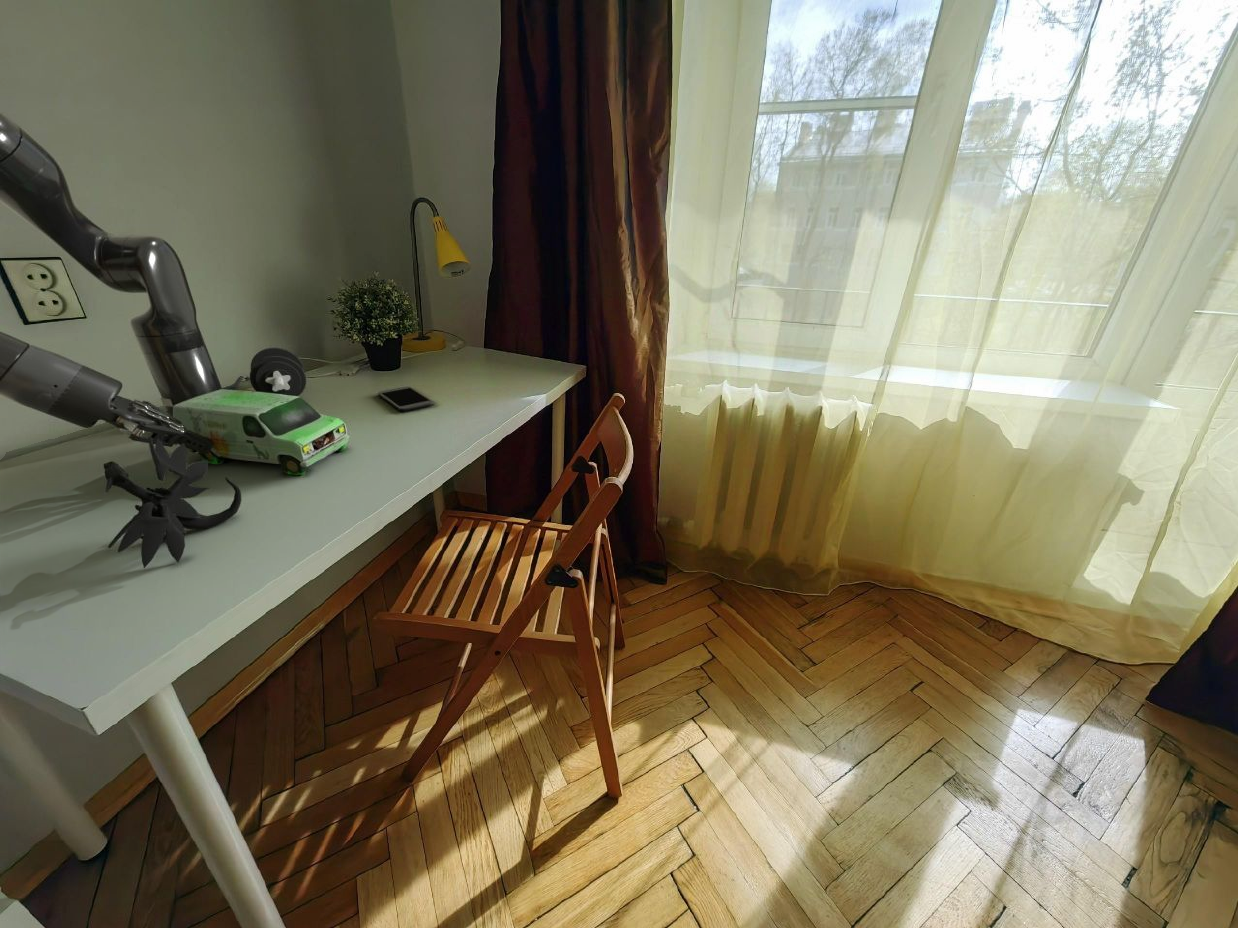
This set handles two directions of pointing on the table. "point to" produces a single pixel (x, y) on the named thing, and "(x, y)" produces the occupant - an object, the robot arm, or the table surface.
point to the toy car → (262, 428)
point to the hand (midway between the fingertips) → (210, 447)
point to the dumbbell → (277, 372)
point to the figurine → (165, 504)
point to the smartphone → (405, 398)
